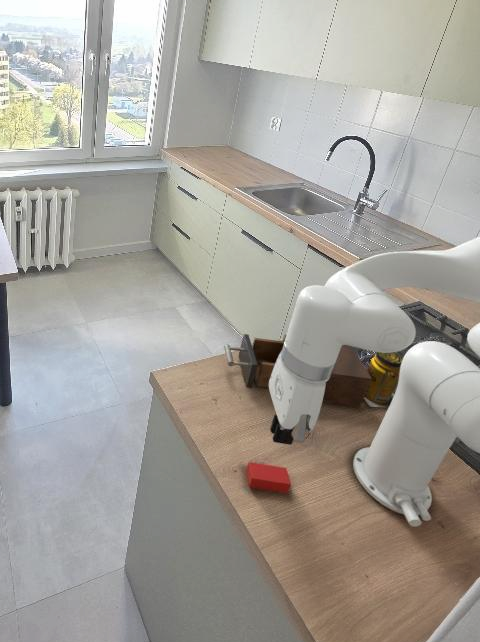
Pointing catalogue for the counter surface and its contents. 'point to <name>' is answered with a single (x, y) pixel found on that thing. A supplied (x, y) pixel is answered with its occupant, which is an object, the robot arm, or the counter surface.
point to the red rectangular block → (268, 477)
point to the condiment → (383, 379)
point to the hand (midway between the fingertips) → (280, 437)
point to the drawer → (256, 359)
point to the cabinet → (347, 380)
